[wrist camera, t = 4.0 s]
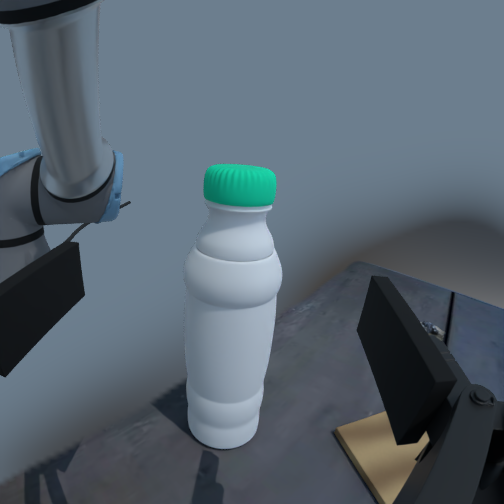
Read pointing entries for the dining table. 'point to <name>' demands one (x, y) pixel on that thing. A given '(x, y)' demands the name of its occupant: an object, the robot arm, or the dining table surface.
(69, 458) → the dining table surface
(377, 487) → the gold metal sheet
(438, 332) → the geode
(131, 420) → the dining table surface
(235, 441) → the water bottle
